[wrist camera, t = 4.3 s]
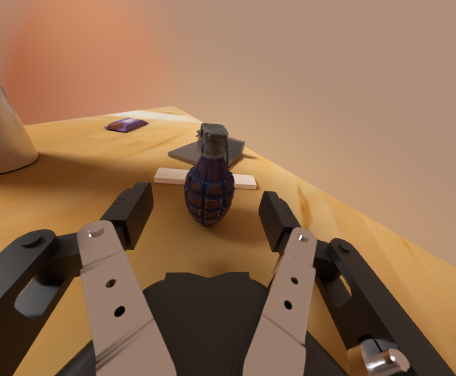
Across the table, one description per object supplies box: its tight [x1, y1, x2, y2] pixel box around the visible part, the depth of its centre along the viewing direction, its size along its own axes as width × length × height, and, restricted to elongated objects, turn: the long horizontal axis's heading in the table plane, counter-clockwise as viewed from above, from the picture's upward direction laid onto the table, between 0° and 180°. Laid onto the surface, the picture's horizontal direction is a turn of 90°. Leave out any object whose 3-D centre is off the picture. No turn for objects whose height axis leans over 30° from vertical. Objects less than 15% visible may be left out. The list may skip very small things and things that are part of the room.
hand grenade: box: [184, 123, 235, 225], centre depth 16 cm, size 6×5×10 cm
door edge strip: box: [154, 168, 257, 190], centre depth 25 cm, size 15×3×1 cm, turn 95°
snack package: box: [104, 118, 148, 132], centre depth 43 cm, size 12×2×5 cm
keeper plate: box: [168, 130, 245, 166], centre depth 33 cm, size 11×11×3 cm
